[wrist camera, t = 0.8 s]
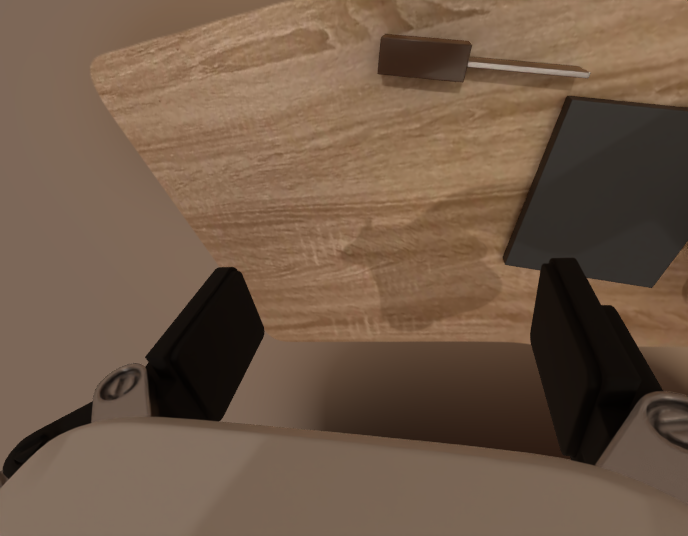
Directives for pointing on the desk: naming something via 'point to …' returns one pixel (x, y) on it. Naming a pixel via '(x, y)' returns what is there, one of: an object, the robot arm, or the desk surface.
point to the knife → (451, 60)
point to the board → (608, 192)
